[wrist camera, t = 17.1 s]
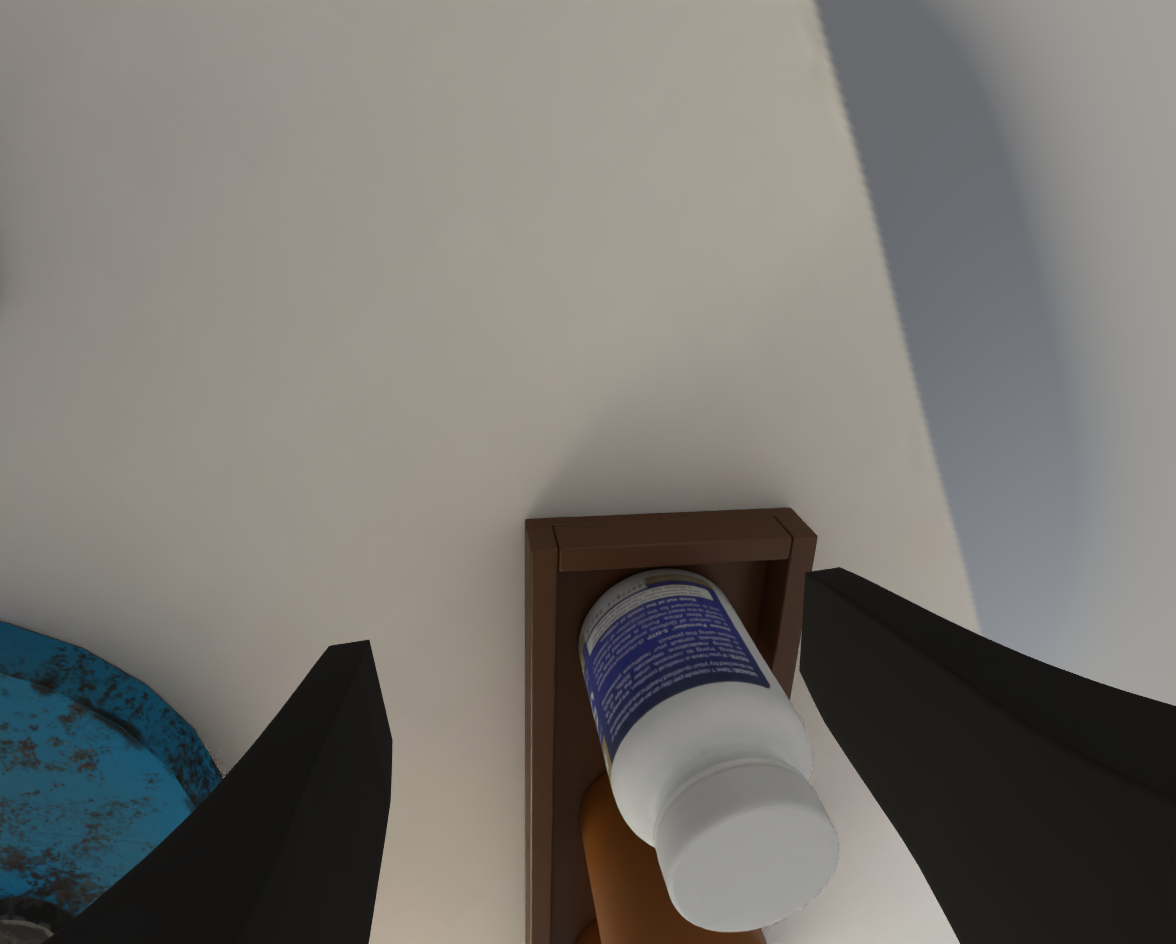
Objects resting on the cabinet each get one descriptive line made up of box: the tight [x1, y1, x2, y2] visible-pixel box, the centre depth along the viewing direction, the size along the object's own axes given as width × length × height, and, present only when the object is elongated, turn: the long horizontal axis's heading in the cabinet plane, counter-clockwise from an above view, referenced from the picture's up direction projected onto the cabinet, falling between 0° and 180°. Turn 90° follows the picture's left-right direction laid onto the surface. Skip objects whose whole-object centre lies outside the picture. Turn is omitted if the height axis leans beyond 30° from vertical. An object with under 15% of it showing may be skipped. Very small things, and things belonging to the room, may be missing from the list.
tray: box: [525, 508, 817, 944], centre depth 27 cm, size 9×24×2 cm, turn 178°
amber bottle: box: [579, 772, 767, 944], centre depth 23 cm, size 5×5×10 cm
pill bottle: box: [579, 568, 839, 932], centre depth 20 cm, size 5×5×9 cm
